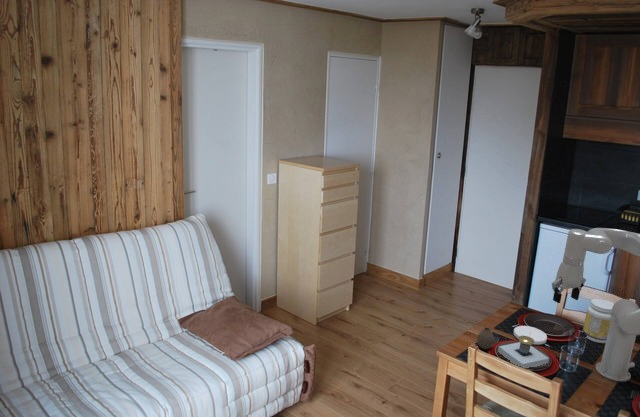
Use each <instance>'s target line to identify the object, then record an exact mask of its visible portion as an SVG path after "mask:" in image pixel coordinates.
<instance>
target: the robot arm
mask: <svg viewBox="0 0 640 417" xmlns="http://www.w3.org/2000/svg"><path fill="white" fill-rule="evenodd" d="M612 248H616V249H620V250H621V251H622V250H623V251H626V253H627V252H628V253H630V255H631V254H632V255H634V256H636V257H640V233H637V232H632V231H628V230H622V229H617V228H606V227H595V228H591V229H589V230H587V231H586V230H584V229H580V228H572V229H569V231H568V232H567V236H566V243H565V248H564V253H563V258H562V262H561V263H560V264H559V266H558V269H557V271H556V272H557V273H556V276H555V279H554V281H552V283H551V287H552V290H553V298H552V301H553V302H555V303H557V304H561V301H562V296H563V295H562V292H563V291H564V290H567V289H568V290H569V289H572V290H571V295H570V297H571V298H572V299H573V300H575V301H578V300H579V297H580V292H581V291H582V288H584V285H585V283H586V282H587V279H586V278H585V277H584V270H585V269H584V267H585V259H586V254H587V252H591V253H593V254H598V255H605V254H607V253H609V252H610V251H611V250H612ZM559 288H560V289H559ZM637 336H640V307H639V305H638V304H637V303H635V302H634V301H632V300H630V299H627V298H625V299H619V300H617V301H616V302H615V303H614V305H613V307H612V310H611V319H610V326H609V331H608V335H607V340H606V343H604V348H603V354H602V358H601V361H599V362H597V363H596V365H595V370H596V371H597V373H598V374H599V375H601V376H603V377H604V378H606V379H608V380H612V381H615V382H627V381H629V380H630V379H631V376H632V375H631V373H630V371H629V370H630V369H631V368H634V367H635V365H636V364H635V362H633V361H631V357H632V353H633V349H634V345H635V342H636V338H637ZM630 361H631V362H630Z"/></svg>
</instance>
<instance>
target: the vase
mask: <svg viewBox="0 0 640 417" xmlns="http://www.w3.org/2000/svg"><path fill="white" fill-rule="evenodd" d="M476 339H477V340H476V342H477V343H476V344H477V345H478V347H479V348H480V349H483V350H490V347H491V348H492V347H493V345H494V342H495V337H494V334H493V332H492V331H491V328H490V327H484V328H483V329H482V330H481V331H479V333H478V334H477V338H476Z"/></svg>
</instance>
